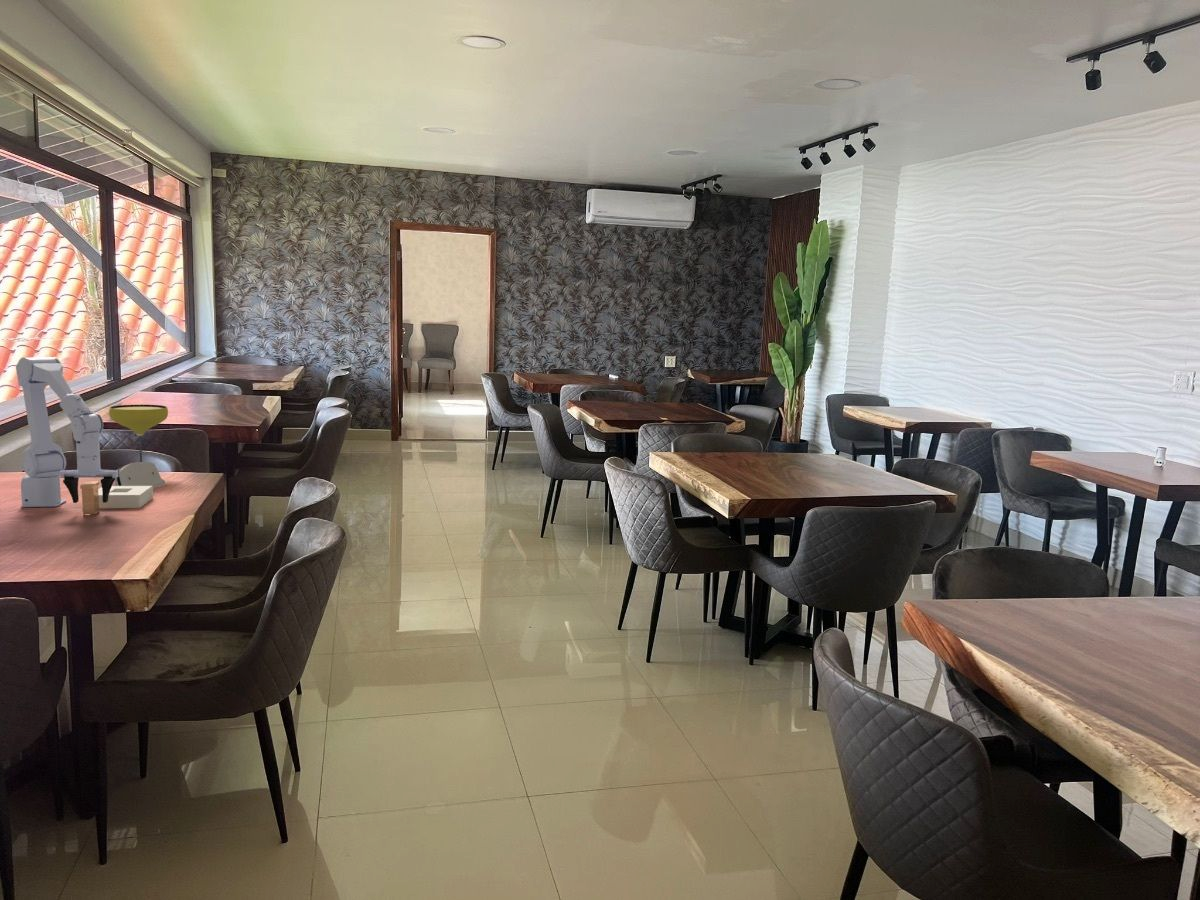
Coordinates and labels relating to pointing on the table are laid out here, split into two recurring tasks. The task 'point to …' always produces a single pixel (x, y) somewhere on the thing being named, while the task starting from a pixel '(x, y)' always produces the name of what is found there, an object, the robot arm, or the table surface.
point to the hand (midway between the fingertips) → (90, 502)
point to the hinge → (139, 475)
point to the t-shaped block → (90, 497)
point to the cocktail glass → (138, 417)
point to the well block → (126, 496)
